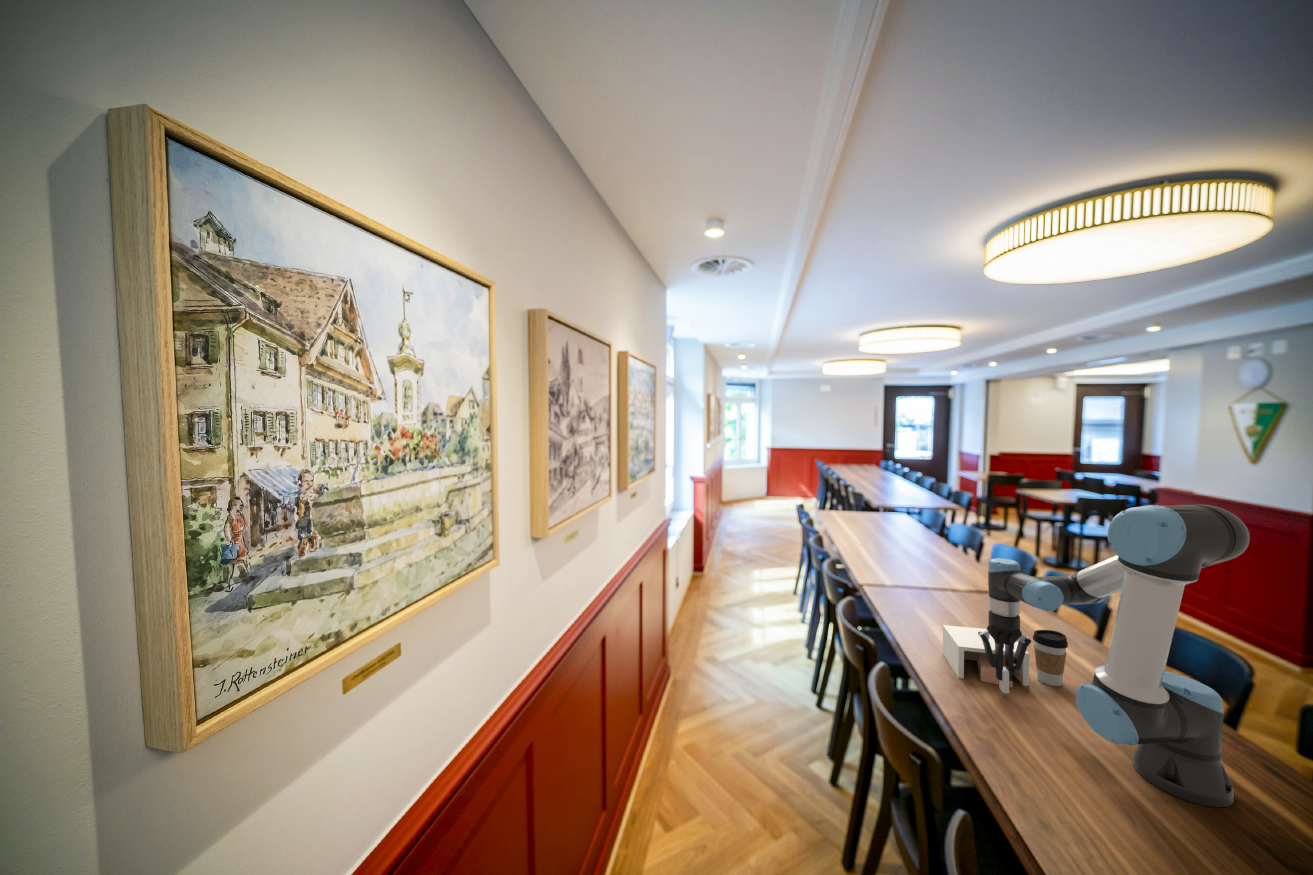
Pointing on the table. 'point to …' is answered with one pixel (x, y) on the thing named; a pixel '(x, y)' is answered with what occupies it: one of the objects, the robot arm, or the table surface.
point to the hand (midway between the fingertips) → (1004, 690)
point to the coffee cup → (1050, 656)
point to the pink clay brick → (988, 670)
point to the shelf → (974, 650)
